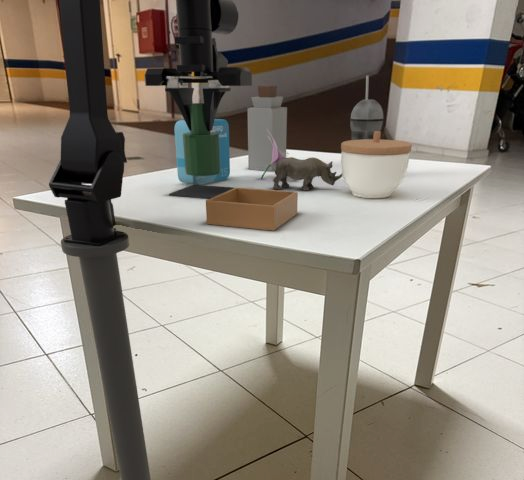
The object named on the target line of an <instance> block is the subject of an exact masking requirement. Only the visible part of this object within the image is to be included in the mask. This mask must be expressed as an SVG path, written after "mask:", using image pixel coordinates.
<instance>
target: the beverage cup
mask: <svg viewBox="0 0 524 480" xmlns="http://www.w3.org/2000/svg"><path fill="white" fill-rule="evenodd" d="M369 76H370V75H366V76H365V99H362V100H360V101H358V102H357V103H356V105H355V106H354V107H353V108H352V111H351V113H350V118H349V121H350V124H349V125H350V131H351V140H363V139H373V136H374V132H375V131H380V132H381V131H382V127H383V123H384V111H383V108H382V105H381V104H380V103H379V102H378V101H377V100H376V99H369V83H370V81H369V78H370V77H369Z"/></svg>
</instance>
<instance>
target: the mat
mask: <svg viewBox="0 0 524 480" xmlns="http://www.w3.org/2000/svg"><path fill="white" fill-rule="evenodd" d="M233 188H234V187H231V186H220V185H219V186H217V185H204V184H199V185H196V184H191V185H189V186H187V187H184V188H181V189H178V190H176V191H172V192H171V193H169V194H168V196H172V197H181V198H183V197H184V198H193V199H194V198H195V199H206V200H209V199H211V198H213V197H215V196H218V195H220V194H222V193H224V192H227V191H229V190H231V189H233Z"/></svg>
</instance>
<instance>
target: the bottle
mask: <svg viewBox="0 0 524 480" xmlns="http://www.w3.org/2000/svg"><path fill="white" fill-rule="evenodd" d="M190 118H191V133H184V134H183V145H184V159H185V171H186V174H187V175H192V176H211V175H217V174H220V150H219V133H215V132H210V131H207V126H206V120H205V110H204V102H202V103H201V102H194V103H193V102H192V103H191V104H190Z"/></svg>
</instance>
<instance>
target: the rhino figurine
mask: <svg viewBox="0 0 524 480" xmlns="http://www.w3.org/2000/svg"><path fill="white" fill-rule="evenodd" d="M332 168H333V161H330V162H329V163H326V162H324V161H323V160H321V159H319V158H318V157H308V158H305V159H300V158H297V157H292V156H291V157H289V156H288V157H286V158H285V157H283V158H281V159H280V160H279V161H278V162H277V164H276V170H275V171H274V174H275V176H274V178H273V179H272V180H273V186H272V188H273V190H281V188H290V184H289V183H288V180H287V177H288V178H290V179H292V180H294V181H302V180H303V181H302V185H301V189H302V190H303V191H310V189H314V188H315V186H314V185H313V180H314V179H315V178H316V177H318V178H319V177H320V178H321V180H322V181H323V182H324V183H326V184H327V185H330V186H332V187H333V186H334V185H335V184H336V181H338V180H340V179H341V178H343V176H342V173H340V174H339V175H336V174H337V171H334V172H332V170H331V169H332ZM280 182H281V186H280Z"/></svg>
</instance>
